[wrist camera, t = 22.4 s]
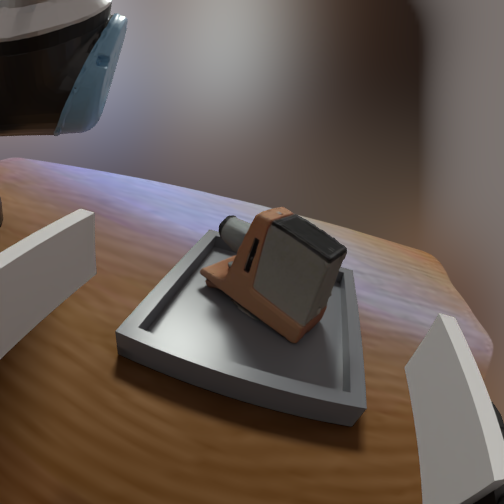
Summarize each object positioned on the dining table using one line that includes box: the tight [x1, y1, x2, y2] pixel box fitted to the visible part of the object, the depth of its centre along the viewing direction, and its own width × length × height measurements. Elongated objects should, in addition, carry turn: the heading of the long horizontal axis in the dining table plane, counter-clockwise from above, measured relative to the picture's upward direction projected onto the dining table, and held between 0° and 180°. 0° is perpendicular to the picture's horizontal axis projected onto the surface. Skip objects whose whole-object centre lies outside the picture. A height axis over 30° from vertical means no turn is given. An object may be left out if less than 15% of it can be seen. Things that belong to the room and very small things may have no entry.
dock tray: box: [115, 230, 367, 427], centre depth 24 cm, size 15×17×2 cm
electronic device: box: [200, 207, 347, 343], centre depth 23 cm, size 4×10×8 cm, turn 52°
